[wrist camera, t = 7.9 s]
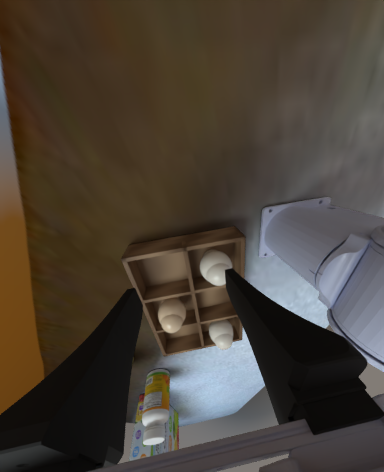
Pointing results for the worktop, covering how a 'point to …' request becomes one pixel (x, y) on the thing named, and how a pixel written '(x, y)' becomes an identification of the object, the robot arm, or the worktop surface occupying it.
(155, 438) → the supplement bottle
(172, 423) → the snack box
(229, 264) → the cream egg near
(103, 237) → the worktop surface
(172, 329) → the beige egg
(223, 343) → the cream egg far
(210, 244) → the egg tray
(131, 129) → the worktop surface
